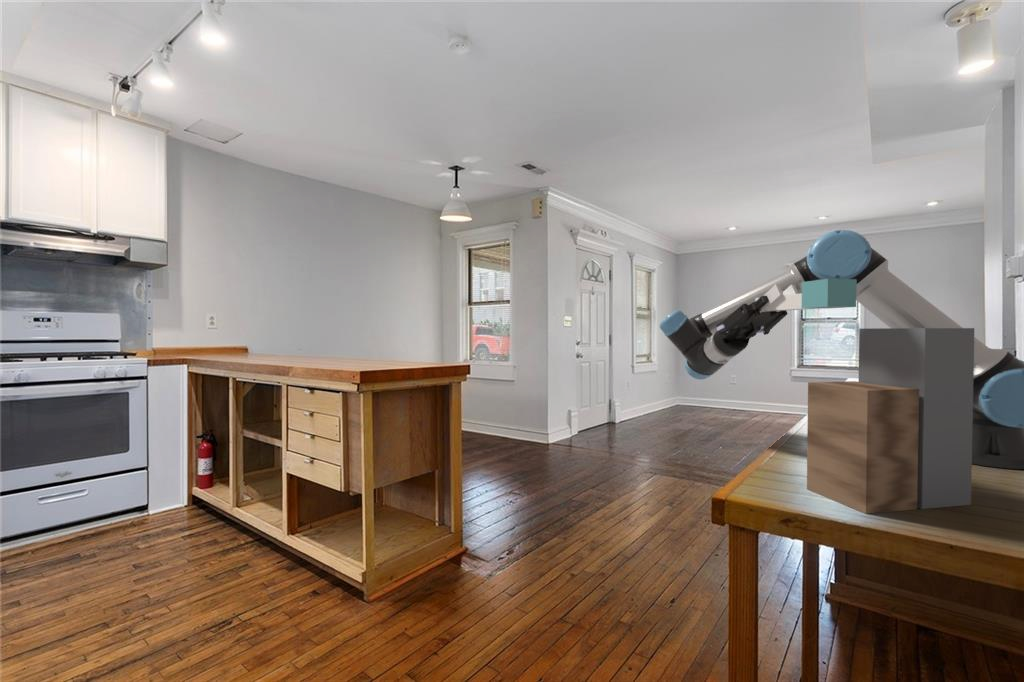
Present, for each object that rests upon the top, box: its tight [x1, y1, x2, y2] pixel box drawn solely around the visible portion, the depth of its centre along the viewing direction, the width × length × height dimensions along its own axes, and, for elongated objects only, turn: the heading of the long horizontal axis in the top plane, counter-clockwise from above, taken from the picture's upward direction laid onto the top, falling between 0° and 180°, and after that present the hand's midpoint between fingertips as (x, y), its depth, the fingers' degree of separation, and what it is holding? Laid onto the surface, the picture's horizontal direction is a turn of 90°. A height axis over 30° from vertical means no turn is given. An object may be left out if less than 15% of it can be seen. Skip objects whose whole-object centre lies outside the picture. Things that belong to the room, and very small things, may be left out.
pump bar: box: [755, 279, 857, 312], centre depth 95 cm, size 6×21×5 cm, turn 10°
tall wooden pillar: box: [806, 380, 919, 514], centre depth 83 cm, size 10×12×20 cm
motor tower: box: [858, 327, 975, 510], centre depth 84 cm, size 10×12×30 cm
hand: (787, 289), depth 98 cm, fingers closed on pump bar, 3 cm apart
